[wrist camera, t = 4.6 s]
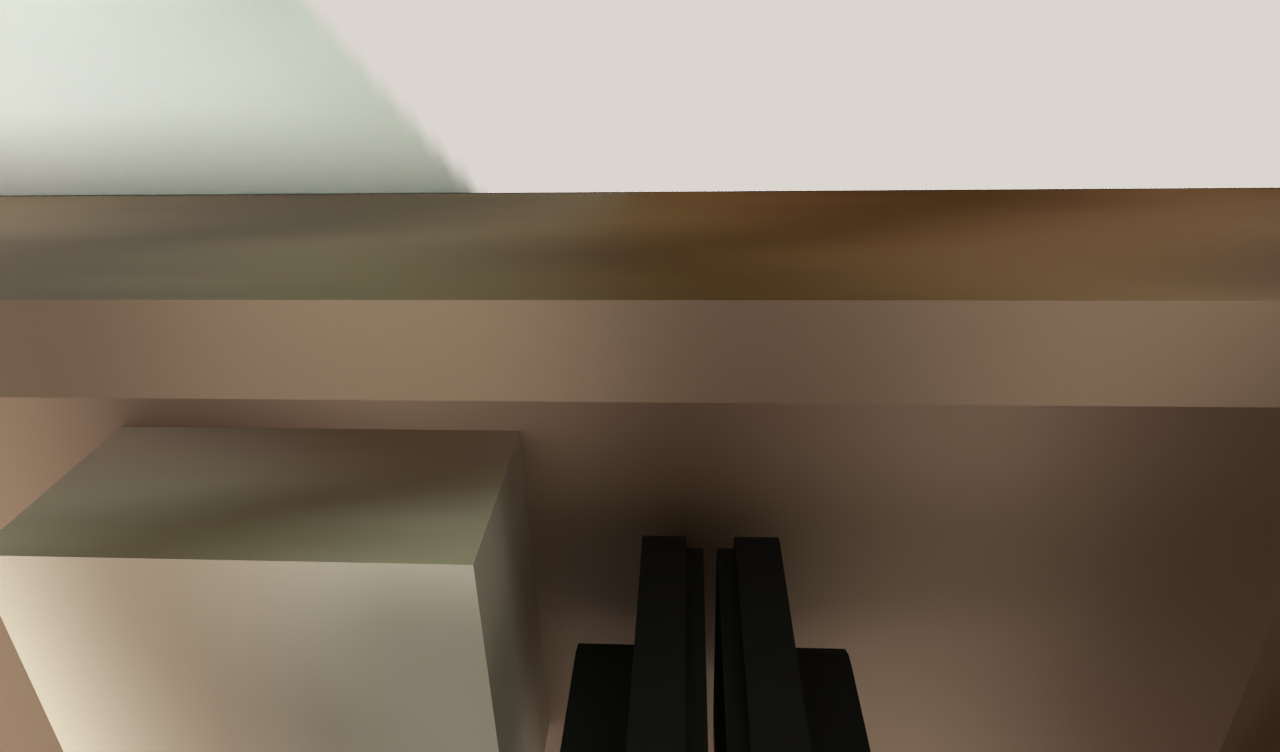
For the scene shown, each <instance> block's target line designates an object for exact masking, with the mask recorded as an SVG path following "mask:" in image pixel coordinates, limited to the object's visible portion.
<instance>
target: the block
mask: <svg viewBox="0 0 1280 752" xmlns="http://www.w3.org/2000/svg"><path fill="white" fill-rule="evenodd" d="M0 616H1V618H2V621H3V623H4V625H5V627H6V629H7V631H8V634H9V636H10V638H11V640H12V642H13V644H14V646H15V649H16V651H17V653H18V655H19V657H20V659H21V662H22V664H23V666H24V668H25V670H26V672H27V674H28V677H29V679H30V681H31V683H32V685H33V687H34V689H35V692H36V694H37V696H38V698H39V700H40V702H41V705H42V707H43V709H44V711H45V713H46V715H47V717H48V720H49V722H50V724H51V726H52V728H53V730H54V733H55V735H56V737H57V739H58V741H59V743H60V745H61V748H62V750H63V752H544V750H545V745H546V739H547V734H548V729H549V718H548V707H547V697H546V687H545V677H544V667H543V656H542V646H541V636H540V626H539V616H538V605H537V595H536V585H535V575H534V564H533V554H532V544H531V534H530V524H529V513H528V503H527V493H526V483H525V473H524V462H523V452H522V442H521V432H520V431H500V430H401V429H302V428H204V427H120V428H119V429H118V430H117V431H116V432H115V433H113V434H112V435H111V436H110V437H109V438H108V439H106V440H105V441H104V442H103V443H102V444H101V445H99V446H98V447H97V448H96V449H95V450H94V451H93V452H91V453H90V454H89V455H88V456H87V457H86V458H84V459H83V460H82V461H81V462H80V463H79V464H77V465H76V466H75V467H74V468H73V469H72V470H70V471H69V472H68V473H67V474H66V475H65V476H63V477H62V478H61V479H60V480H59V481H58V482H56V483H55V484H54V485H53V486H52V487H51V488H49V489H48V490H47V491H46V492H45V493H44V494H43V495H41V496H40V497H39V498H38V499H37V500H36V501H34V502H33V503H32V504H31V505H30V506H29V507H27V508H26V509H25V510H24V511H23V512H22V513H20V514H19V515H18V516H17V517H16V518H15V519H13V520H12V521H11V522H10V523H9V524H8V525H6V526H5V527H4V528H3V529H2V530H1V531H0Z"/></svg>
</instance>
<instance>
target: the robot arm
mask: <svg viewBox="0 0 1280 752" xmlns="http://www.w3.org/2000/svg"><path fill="white" fill-rule="evenodd" d="M713 738H714V752H871V750H870V746H869V741H868V737H867V732H866V728H865V723H864V719H863V714H862V710H861V705H860V701H859V697H858V692H857V688H856V683H855V679H854V674H853V670H852V665H851V662H850V658H849V655H848V653H847V651H846V649H834V648H796V646H795V639H794V633H793V626H792V619H791V613H790V606H789V599H788V593H787V586H786V580H785V573H784V566H783V560H782V553H781V546H780V541H779V538H778V537H734V544H733V549H729V548H717V564H716V606H715V648H714V690H713ZM560 752H708V720H707V679H706V638H705V597H704V556H703V548H686V536H645V535H643V537H642V548H641V561H640V575H639V588H638V601H637V614H636V627H635V640H634V644H588V643H579V644H578V646H577V649H576V654H575V659H574V665H573V671H572V678H571V684H570V690H569V697H568V703H567V710H566V716H565V722H564V729H563V735H562V742H561V748H560Z"/></svg>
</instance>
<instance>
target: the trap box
mask: <svg viewBox="0 0 1280 752" xmlns="http://www.w3.org/2000/svg"><path fill="white" fill-rule="evenodd" d="M120 427H204V428H302V429H401V430H500V431H520V432H521V442H522V452H523V462H524V473H525V483H526V493H527V503H528V513H529V524H530V534H531V544H532V554H533V564H534V575H535V585H536V595H537V605H538V616H539V626H540V636H541V646H542V656H543V667H544V677H545V687H546V697H547V707H548V718H549V729H548V734H547V739H546V745H545V750H544V752H560V748H561V742H562V735H563V729H564V722H565V716H566V710H567V703H568V697H569V690H570V684H571V678H572V671H573V665H574V659H575V654H576V649H577V646H578V644H579V643H588V644H634V640H635V627H636V614H637V601H638V588H639V575H640V561H641V548H642V537H643V535H645V536H686V548H703V556H704V597H705V638H706V679H707V720H708V752H714V738H713V690H714V648H715V606H716V564H717V548H729V549H733V544H734V537H778V538H779V541H780V546H781V553H782V560H783V566H784V573H785V580H786V586H787V593H788V599H789V606H790V613H791V619H792V626H793V633H794V639H795V646H796V648H834V649H846V651H847V653H848V655H849V658H850V662H851V665H852V670H853V674H854V679H855V683H856V688H857V692H858V697H859V701H860V705H861V710H862V714H863V719H864V723H865V728H866V732H867V737H868V741H869V746H870V750H871V752H1280V188H1201V189H1199V188H1196V189H1195V188H1194V189H1193V188H1192V189H1191V188H1188V189H1050V190H1049V189H1047V190H1046V189H1042V190H1041V189H1039V190H1038V189H1037V190H889V191H744V192H743V191H740V192H599V193H598V192H593V193H591V192H590V193H439V194H289V195H140V196H0V531H1V530H2V529H3V528H4V527H5V526H6V525H8V524H9V523H10V522H11V521H12V520H13V519H15V518H16V517H17V516H18V515H19V514H20V513H22V512H23V511H24V510H25V509H26V508H27V507H29V506H30V505H31V504H32V503H33V502H34V501H36V500H37V499H38V498H39V497H40V496H41V495H43V494H44V493H45V492H46V491H47V490H48V489H49V488H51V487H52V486H53V485H54V484H55V483H56V482H58V481H59V480H60V479H61V478H62V477H63V476H65V475H66V474H67V473H68V472H69V471H70V470H72V469H73V468H74V467H75V466H76V465H77V464H79V463H80V462H81V461H82V460H83V459H84V458H86V457H87V456H88V455H89V454H90V453H91V452H93V451H94V450H95V449H96V448H97V447H98V446H99V445H101V444H102V443H103V442H104V441H105V440H106V439H108V438H109V437H110V436H111V435H112V434H113V433H115V432H116V431H117V430H118V429H119V428H120ZM0 752H63V750H62V748H61V745H60V743H59V741H58V739H57V737H56V735H55V733H54V730H53V728H52V726H51V724H50V722H49V720H48V717H47V715H46V713H45V711H44V709H43V707H42V705H41V702H40V700H39V698H38V696H37V694H36V692H35V689H34V687H33V685H32V683H31V681H30V679H29V677H28V674H27V672H26V670H25V668H24V666H23V664H22V662H21V659H20V657H19V655H18V653H17V651H16V649H15V646H14V644H13V642H12V640H11V638H10V636H9V634H8V631H7V629H6V627H5V625H4V623H3V621H2V618H1V616H0Z"/></svg>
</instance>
